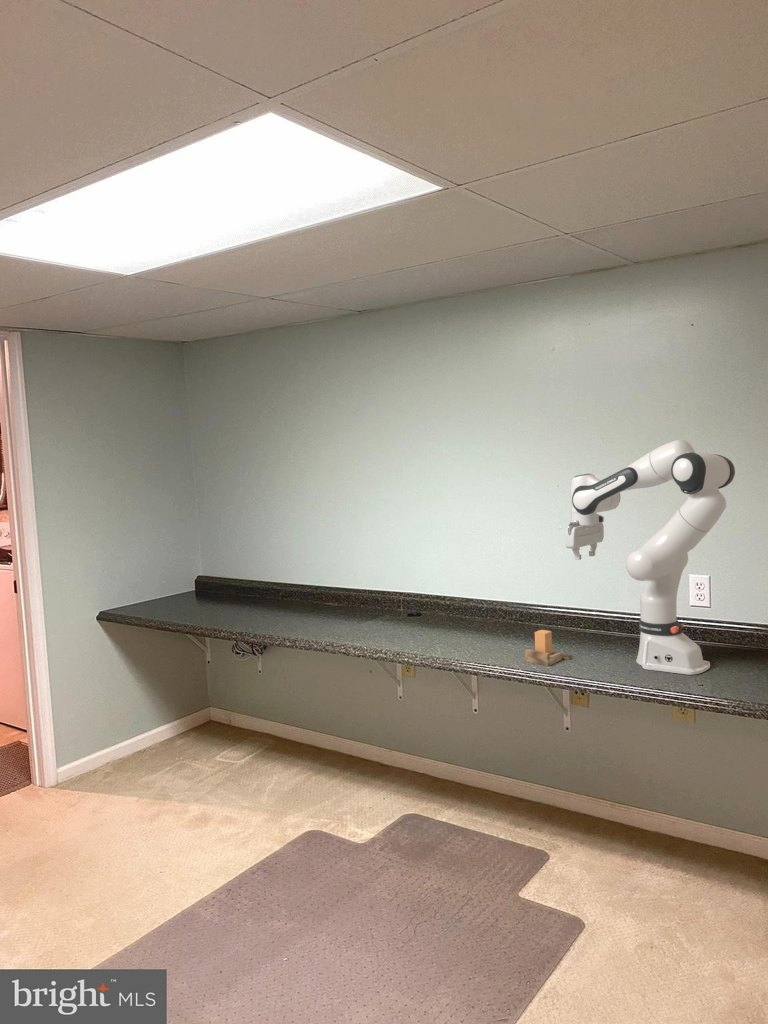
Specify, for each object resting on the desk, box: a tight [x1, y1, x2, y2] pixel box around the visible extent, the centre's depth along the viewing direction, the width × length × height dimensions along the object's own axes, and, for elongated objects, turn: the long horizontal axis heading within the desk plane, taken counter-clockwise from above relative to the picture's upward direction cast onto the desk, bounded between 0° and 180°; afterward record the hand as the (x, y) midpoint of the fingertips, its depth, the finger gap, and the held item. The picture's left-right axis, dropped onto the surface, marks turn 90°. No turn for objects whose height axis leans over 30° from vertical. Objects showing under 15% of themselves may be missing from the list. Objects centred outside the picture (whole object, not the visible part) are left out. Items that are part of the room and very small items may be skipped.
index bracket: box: [524, 648, 563, 667], centre depth 261 cm, size 9×8×4 cm
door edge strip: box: [552, 651, 572, 661], centre depth 265 cm, size 12×2×1 cm, turn 45°
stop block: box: [534, 629, 553, 656], centre depth 260 cm, size 4×4×10 cm
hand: (585, 557), depth 277 cm, fingers open, 8 cm apart
